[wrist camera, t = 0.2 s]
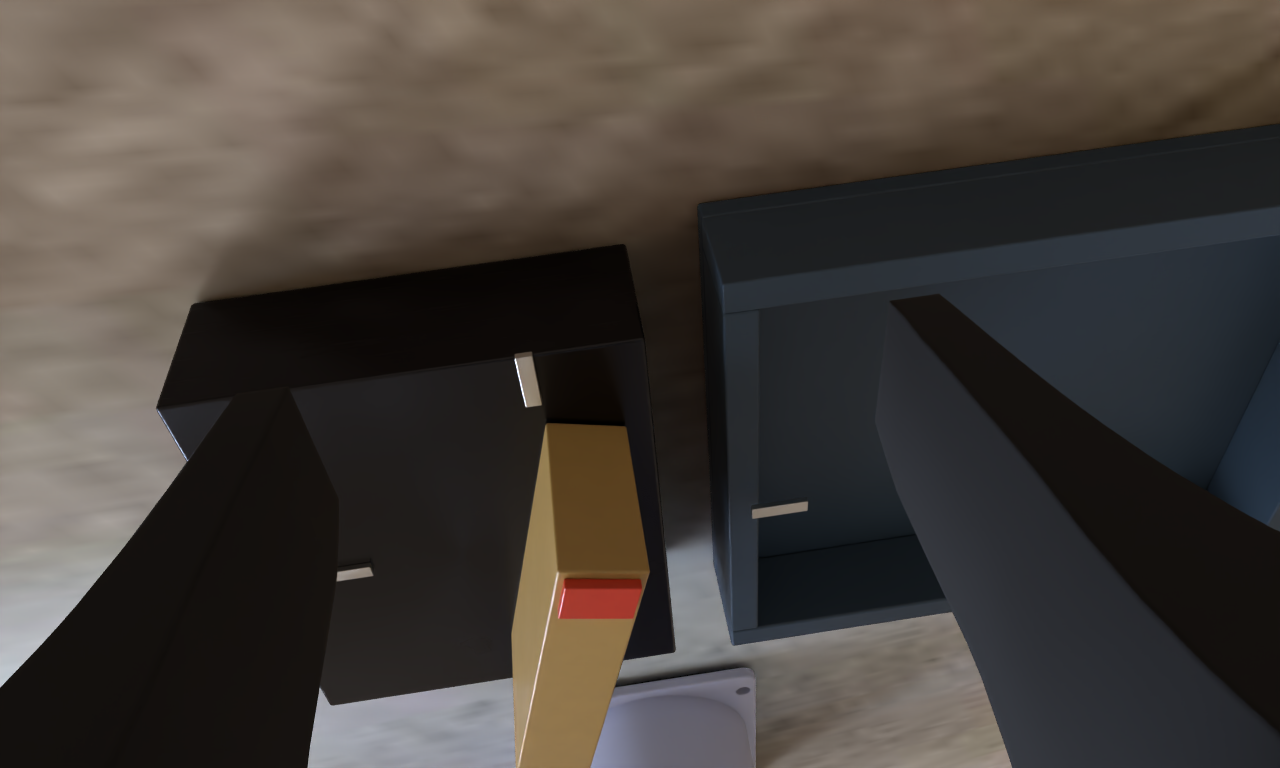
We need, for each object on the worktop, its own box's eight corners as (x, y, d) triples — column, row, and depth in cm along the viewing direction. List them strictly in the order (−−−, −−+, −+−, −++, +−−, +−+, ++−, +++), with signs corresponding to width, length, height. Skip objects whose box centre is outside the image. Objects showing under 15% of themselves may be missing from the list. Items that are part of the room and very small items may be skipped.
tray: (1211, 487, 32) (1268, 563, 30) (713, 563, 31) (732, 647, 29) (1399, 106, 23) (1502, 174, 20) (696, 202, 22) (722, 284, 20)
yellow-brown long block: (576, 632, 27) (590, 782, 24) (511, 633, 26) (516, 785, 23) (626, 425, 22) (652, 582, 18) (545, 421, 21) (558, 581, 18)
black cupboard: (343, 606, 30) (330, 713, 28) (189, 298, 22) (150, 411, 19) (771, 541, 31) (799, 640, 28) (778, 217, 23) (819, 315, 20)
